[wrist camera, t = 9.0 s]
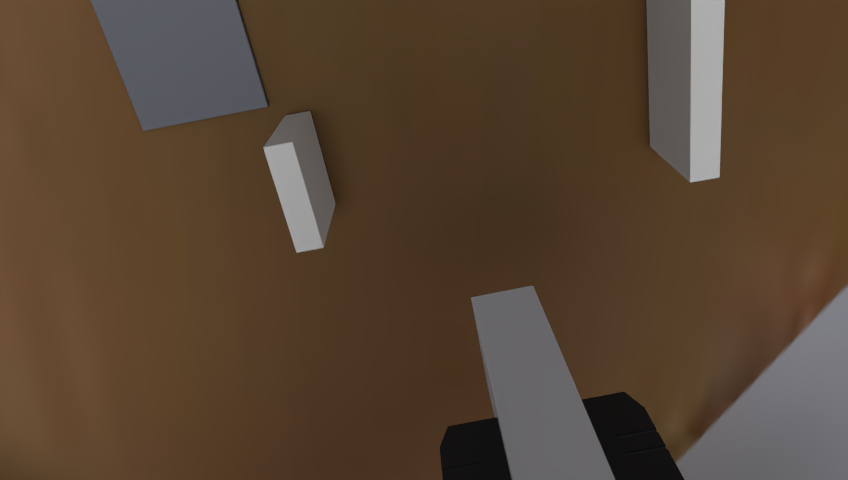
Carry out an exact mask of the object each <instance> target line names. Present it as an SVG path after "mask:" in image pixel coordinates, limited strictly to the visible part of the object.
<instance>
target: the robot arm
mask: <svg viewBox="0 0 848 480" xmlns="http://www.w3.org/2000/svg"><path fill="white" fill-rule="evenodd" d="M471 301H472V306H473V311H474V317H475V322H476V327H477V332H478V338H479V343H480V348H481V353H482V359H483V364H484V369H485V374H486V379H487V385H488V390H489V394H490V399H491V403H492V408H493V412H494V416H495V418H491V419H485V420H480V421H475V422H469V423H464V424H459V425H453V426H448V428H447V430H446V433H445V435H444V438H443V440H442V443H441V445H440V455H441V465H442V473H443V474H442V475H443V480H684V478H683V476H682V475H681V473H680V471H679V469H678V467H677V466H676V464H675V462H674V460H673V458H672V457H671V455H670V453H669V451H668V449H667V450H666V447H665V444H664V442H663V440H662V438H661V437H660V435H659V433H658V432H657V431H656V428H655V426H654V424H653V422H652V420H651V419H650V417H649V415H648V413H647V411H646V410H645V408H644V407H643V406H642V405H640V404H639V403H638V402H637V401H635V400H634V399H633V398H631V397H630V396H629V395H628V394H626V393H625V392H620V393H615V394H610V395H604V396H599V397H594V398H588V399H583V400H581V398H580V395H579V393H578V391H577V388H576V386H575V383H574V381H573V379H572V376H571V374H570V372H569V369H568V367H567V365H566V362H565V360H564V358H563V355H562V353H561V350H560V348H559V346H558V343H557V341H556V339H555V336H554V334H553V332H552V329H551V327H550V325H549V322H548V320H547V317H546V315H545V313H544V310H543V308H542V306H541V303H540V301H539V299H538V296H537V294H536V292H535V289H534V287H533V285H532V286H527V287H522V288H517V289H512V290H507V291H502V292H497V293H491V294H486V295H481V296H476V297H471Z"/></svg>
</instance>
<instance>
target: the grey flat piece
mask: <svg viewBox="0 0 848 480" xmlns="http://www.w3.org/2000/svg"><path fill="white" fill-rule="evenodd" d="M91 2H92V5H93V7H94V9H95V12H96V14H97V17H98V19H99V22H100V24H101V27H102V29H103V32H104V34H105V37H106V39H107V42H108V44H109V47H110V49H111V52H112V54H113V57H114V59H115V62H116V64H117V66H118V69H119V71H120V74H121V76H122V79H123V81H124V84H125V86H126V89H127V91H128V94H129V96H130V99H131V101H132V104H133V106H134V109H135V111H136V114H137V116H138V119H139V121H140V123H141V126H142V128H143V131H146V130H151V129H156V128H161V127H166V126H171V125H176V124H182V123H187V122H192V121H197V120H202V119H207V118H212V117H217V116H223V115H228V114H233V113H238V112H243V111H248V110H253V109H259V108H264V107H268V106H269V104H268V101H267V97H266V94H265V91H264V87H263V84H262V81H261V78H260V74H259V71H258V68H257V64H256V61H255V58H254V55H253V51H252V48H251V45H250V41H249V38H248V35H247V31H246V28H245V25H244V22H243V18H242V15H241V12H240V8H239V5H238V2H237V0H91ZM724 7H725V0H646V8H647V49H648V90H649V131H650V147H651V148H652V149H653V150H654V151H655V152H657V153H658V154H659V155H660V156H661V157H662V158H663V159H664V160H665V161H667V162H668V163H669V164H670V165H671V166H672V167H673V168H674V169H676V170H677V171H678V172H679V173H680V174H681V175H682V176H683V177H684V178H686V179H687V180H688V181H689V182H690V183H691V182H696V181H702V180H707V179H713V178H719V177H720V144H721V110H722V76H723V42H724ZM263 149H264V152H265V155H266V158H267V161H268V164H269V168H270V171H271V174H272V177H273V180H274V183H275V186H276V190H277V193H278V196H279V199H280V202H281V205H282V209H283V212H284V215H285V218H286V221H287V224H288V227H289V231H290V234H291V237H292V240H293V243H294V246H295V249H296V253H297V252H303V251H308V250H314V249H320V248H324V244H325V241H326V237H327V234H328V230H329V226H330V223H331V219H332V215H333V212H334V208H335V205H336V203H335V199H334V196H333V192H332V189H331V185H330V181H329V178H328V174H327V170H326V167H325V163H324V159H323V156H322V152H321V148H320V145H319V141H318V138H317V134H316V130H315V127H314V123H313V119H312V116H311V112H310V111H306V112H301V113H295V114H290V115H285V116H284V118H283V119H282V121H281V122H280V124H279V125H278V127H277V128H276V130H275V131H274V133H273V134H272V135H271V137H270V138H269V140H268V141H267V143H266V144H265V146H264V147H263Z"/></svg>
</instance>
